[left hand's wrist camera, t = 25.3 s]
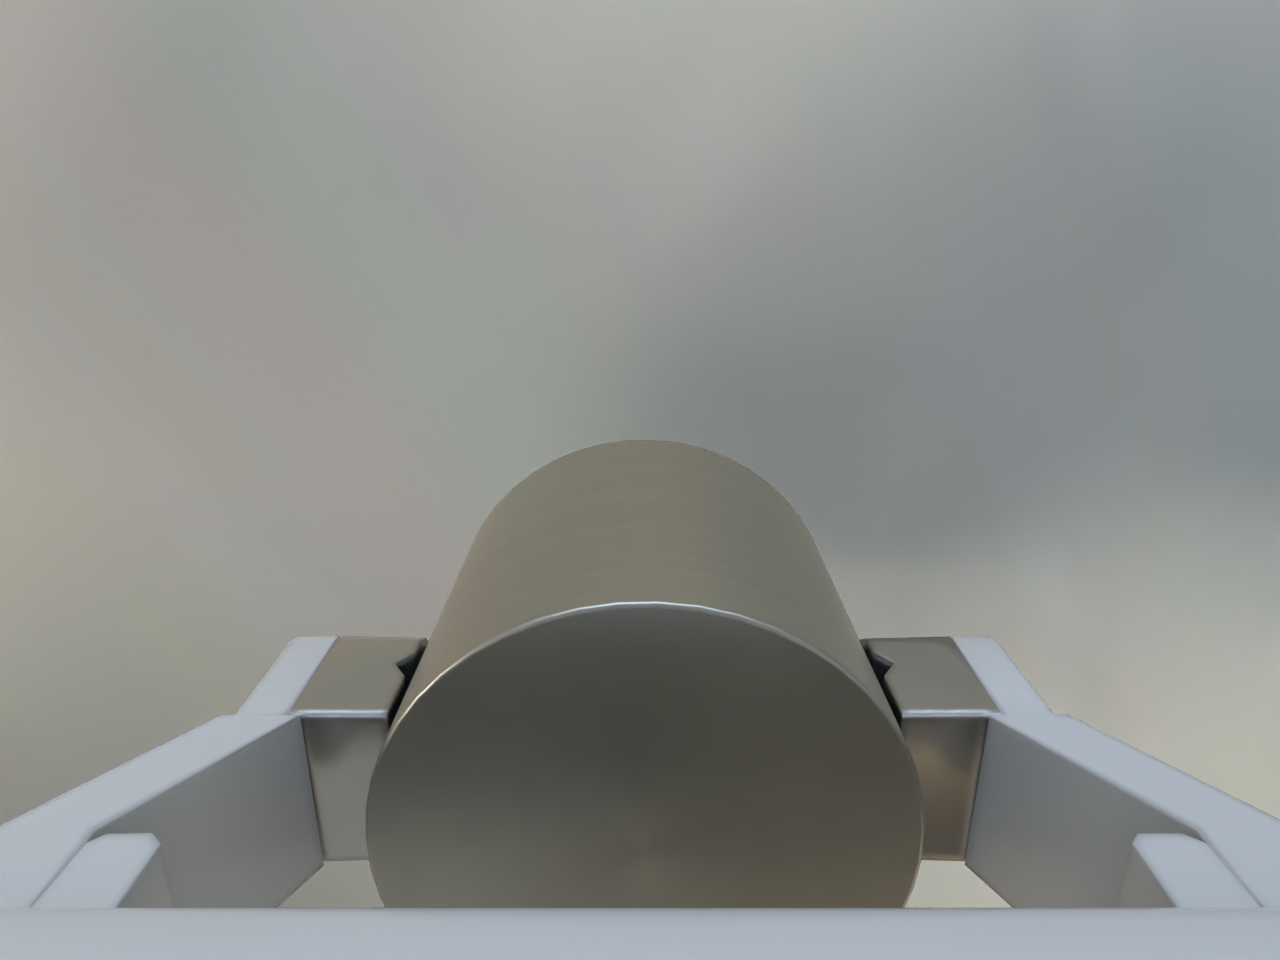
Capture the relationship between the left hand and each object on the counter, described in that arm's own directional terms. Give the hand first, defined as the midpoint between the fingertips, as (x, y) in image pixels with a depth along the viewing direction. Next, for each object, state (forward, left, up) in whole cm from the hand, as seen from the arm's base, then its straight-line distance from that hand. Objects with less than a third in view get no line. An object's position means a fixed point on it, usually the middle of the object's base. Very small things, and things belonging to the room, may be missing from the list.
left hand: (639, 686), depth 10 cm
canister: (0, 0, -2) cm, 2 cm away
